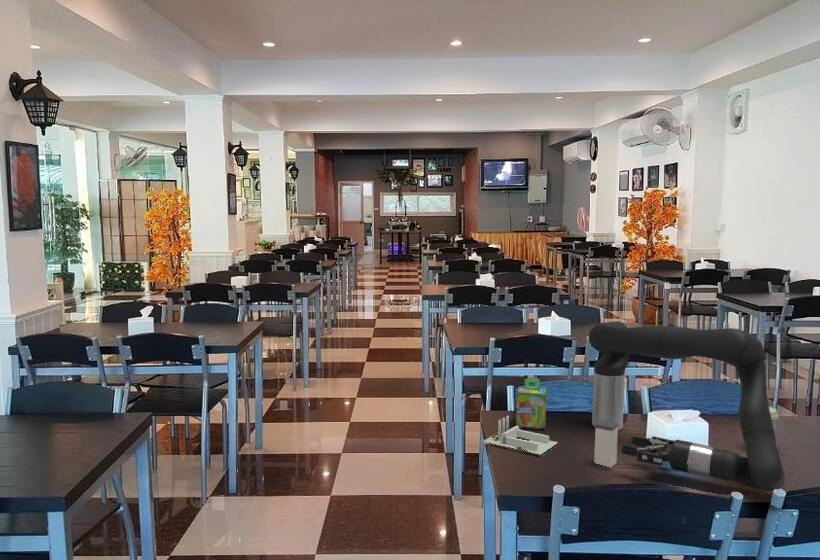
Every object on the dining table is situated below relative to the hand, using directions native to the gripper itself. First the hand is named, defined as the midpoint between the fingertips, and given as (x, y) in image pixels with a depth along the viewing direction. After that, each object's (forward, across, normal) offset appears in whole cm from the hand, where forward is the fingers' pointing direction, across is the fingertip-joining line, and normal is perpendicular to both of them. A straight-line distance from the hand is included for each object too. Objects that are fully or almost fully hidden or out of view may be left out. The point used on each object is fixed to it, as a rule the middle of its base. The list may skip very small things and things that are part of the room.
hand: (627, 444), depth 175 cm
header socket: (+31, 0, +7) cm, 31 cm away
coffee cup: (-26, -37, +7) cm, 46 cm away
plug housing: (+6, 0, +6) cm, 9 cm away
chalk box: (+36, -18, +7) cm, 40 cm away
